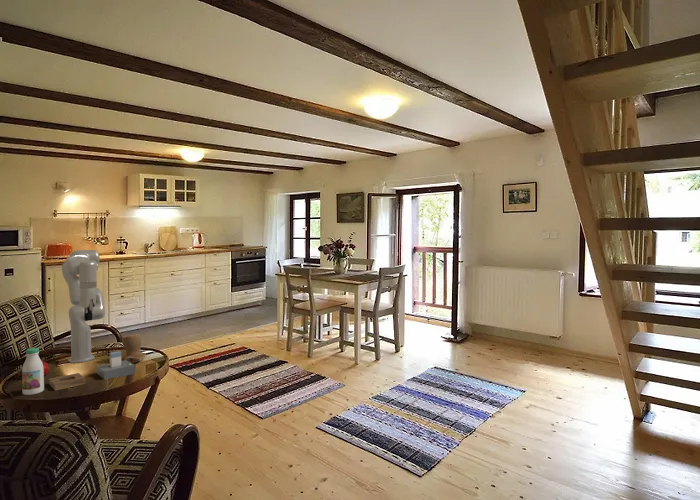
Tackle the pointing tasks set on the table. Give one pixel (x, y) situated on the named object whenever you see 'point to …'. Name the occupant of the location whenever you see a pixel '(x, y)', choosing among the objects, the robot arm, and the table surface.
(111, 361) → the plug
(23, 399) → the table surface
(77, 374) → the slotted socket block
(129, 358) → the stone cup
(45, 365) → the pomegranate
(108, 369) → the port block
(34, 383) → the milk bottle
